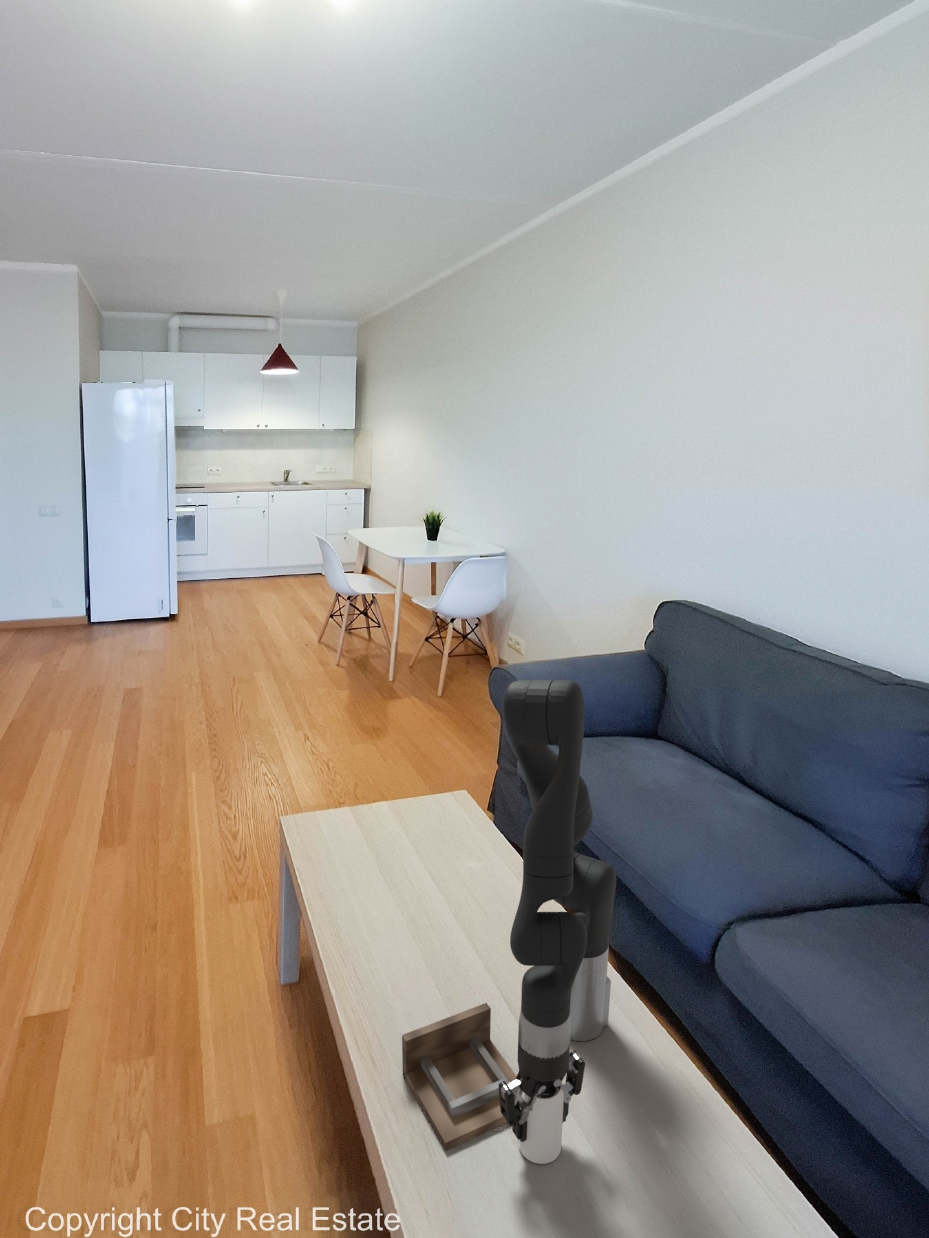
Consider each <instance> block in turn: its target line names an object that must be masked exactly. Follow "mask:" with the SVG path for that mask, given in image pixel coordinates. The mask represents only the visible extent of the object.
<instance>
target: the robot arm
mask: <svg viewBox="0 0 929 1238" xmlns="http://www.w3.org/2000/svg"><path fill="white" fill-rule="evenodd" d="M585 709H586V708H585V700H584V693H583V690H582V688H581V686H580V685H579V684H578V682H577V681H575V680H570V679H520V680H515V681H513V682H511V683H509V684H508V686H507V687H506V688H505V691H504V693H503V699H502V715H503V722H504V726H505V728H506V729H505V730H506V734H507V736H508V739H509V742H510V743H511V747H512V749H513V752H514V754H515V756H516V759H517V761H518V764H519V766H520V768H521V772H522V774H523V778H524V781H525V784H526V788H527V793H528V797H529V801H530V806H531V810H532V812H531V814H530V816H529V818H528V820H527V823H526V826H525V829H524V832H523V841H522V843H523V844H522V847H523V848H522V854H523V855H522V858H523V859H522V860H523V861H522V887H521V893H520V899H519V901H518V906H517V910H516V913H515V916H514V919H513V923H512V927H511V931H510V940H509V946H510V950H511V953H512V955H513V957H514V958H515V960H516V961H517V962H518V963H519V964H520V965H523V966H527V967H529V966H530V968H528V969H527V970H526V971H525V972H524V974H523V976H522V981H521V997H520V998H521V1001H520V1003H521V1005H520V1012H519V1017H518V1035H517V1037H518V1038H517V1040H518V1041H517V1064H518V1072H517V1074H516V1080H515V1081H513V1082H511V1083H509V1084H506V1082H505V1081H502V1082H500V1084H499V1086H498V1087H499V1100H500V1112H501V1114H502V1115H503V1116H504V1118H505V1119H506V1121H507V1122H506V1123H507V1124H508V1126H509V1127H511V1129H512V1130H511V1131H512V1132H513V1134H514V1135H515V1138H517V1140H518V1141H519V1139H520V1141H521V1142H524V1141H526V1139H527V1121H526V1120H527V1117H528V1115H529V1111H532V1110H533V1104H534V1103H535V1101H536V1097H541V1096H542V1095H543V1094H544V1092H545V1090H547V1089H549V1088H552V1087H555V1088H556V1089H558V1088H560V1086H561V1089H562V1091H563V1092H564V1102H563V1123H565V1122H566V1121H567V1117H568V1115H569V1109H570V1102H571V1101H572V1096H574V1095H575V1096H579V1095H580V1094H581V1092H582V1087H583V1081H584V1074H585V1067H586V1062H585V1060H584V1059H583V1058H582V1057H581V1055H580V1054H579V1052H577V1051H576V1050H570V1049H571V1040H573V1041H575V1042H576V1041H577V1042H587V1041H592V1040H594V1039H596V1038H597V1037H599V1036H600V1035H601V1033H602V1031H603V1029H604V1028H605V1027H607V1026H608V1025H609V1018H610V1017H609V1015H610V1014H609V1013H610V1004H611V1003H610V1000H611V987H612V986H611V985H612V980H611V978H609V976H608V965H609V964H608V962H609V950H610V949H609V947H610V936H611V930H612V922H613V913H614V903H615V897H616V888H617V873H616V869H615V867H614V866H613V864H611V863H609V862H606V861H603V860H599V859H597V858H594V857H591V856H587V855H584V854H581V853H578V852H576V851H575V850H574V847H576V846H577V845H578V844H579V843H580V842H581V841H582V840H583V839H584V837H585V836H586V835H587V834H588V832H589V831H590V828H591V826H592V823H593V815H594V814H593V809H592V803H591V797H590V793H589V788H588V786H587V784H586V782H585V780H584V779H583V777H582V776H581V775H580V774H581V773H580V772H581V763H582V762H581V760H582V751H583V744H584V743H583V742H584V734H585V722H586V721H585V715H586V714H585V711H586V710H585ZM550 746H557V748H558V754H557V753H556V752H555V751H554V750H553V749H551V748H550ZM552 900H553V901H554V902H555V903H557V904H559V905H561V906H563V907H565V908H568V909H571V910H573V911H575V912H572V911H571V912H570V911H539V909H540V908H541V906H542V905H543V904H545V903H547V902H549V901H552ZM564 1078H565V1083H564V1084H563V1080H564ZM521 1091H523V1092H524V1093H525V1094H526V1095H527V1096H528V1097H531V1098H530V1100H529V1102H528V1103H527V1102H526V1101H525V1100H524V1099H523V1097H522V1095H521ZM521 1104H522V1106H523V1109H522V1111H521V1109H520V1107H521Z"/></svg>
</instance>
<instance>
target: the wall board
mask: <svg viewBox="0 0 929 1238" xmlns="http://www.w3.org/2000/svg"><path fill="white" fill-rule="evenodd" d="M491 1012H492V1009H491V1006H490V1005H489V1004H488V1002H485V1003H482V1004H480V1005H477V1006H475V1007H472V1008H470V1009H467V1010H464V1011H461V1012H458V1013H456V1014H453V1015H451V1016H448V1017H445V1018H443V1019H440V1020H437V1021H436V1022H433V1023H430V1024H426V1025H424V1026H422V1027H420V1028H417V1029H414V1030H412V1031H409V1032H406V1033H404V1034H402V1035H401V1040H402V1041H401V1050H402V1051H401V1055H402V1059H401V1060H402V1062H401V1063H402V1076H403V1077H404V1079H405V1081H406V1083H407V1084H408V1087H409V1088H410V1091H411V1093H412V1094H413V1096H414V1097H415V1099H416V1101H417V1102H418V1104H419V1106H420V1108H421V1110H422V1112H423V1114H424V1115H425V1117H426V1119H427V1120H428V1122H429V1124H430V1126H431V1127H432V1129H433V1132H434V1133H435V1135H436V1137H437V1139H438V1140H439V1142H440V1144H441V1145H442V1147H443V1149H444V1151H445V1152H446V1151H449V1150H450V1149H453V1148H454V1147H457V1146H459V1145H461V1144H464V1143H465V1142H467V1141H470V1140H472V1139H474V1138H476V1137H479V1136H480V1135H483V1134H485V1133H487V1132H489V1131H491V1130H493V1129H496V1128H498V1127H500V1126H502V1125H504V1124H506V1123H507V1121H506V1119H505V1118H504V1116H503V1115H502V1114H501V1112H500V1100H499V1087H498V1086H499V1084H500V1082H502V1081H505V1082H506V1084H509V1083H511V1082H513V1081H515V1080H516V1076H517V1074H516V1073H515V1071H514V1070H513V1069H512V1068H511V1066H510V1065H509V1063H508V1062H507V1061H506V1059H505V1057H504V1056H503V1055H502V1053H501V1052H500V1051H499V1050H498V1048H497V1047H496V1046H495V1043H493V1042H492V1040H491V1021H492V1020H491V1017H492V1016H491Z"/></svg>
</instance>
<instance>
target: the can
mask: <svg viewBox="0 0 929 1238" xmlns="http://www.w3.org/2000/svg"><path fill="white" fill-rule="evenodd" d="M521 1095H522V1097H523V1099H524V1100H525V1101H526V1102H527V1103H528V1102H529V1100H530V1098H531V1097H528V1096H527V1095H526V1094H525V1093H524V1092H523V1091H521ZM563 1102H564V1092H563V1091H562V1089H561V1086H560V1088H558V1089H556V1088H555V1087H552V1088H549V1089H547V1090H545V1092H544V1094H543V1095H542V1096H541V1097H536V1101H535V1103H534V1104H533V1110H532V1111H529V1115H528V1117H527V1120H526V1121H527V1139H526V1141H524V1142H521V1141H520V1139H519V1140H518V1148H519V1151H520V1153H521V1154H522V1156H523V1157H524V1158H525V1159H527V1161H530V1162H531V1163H533V1164H537V1165H546V1164H550V1163H552V1162H553V1161H555V1160H556V1159H557V1158H558V1157H559V1155H560V1153H561V1150H562V1140H563V1139H562V1137H563V1123H564V1122H563ZM520 1109H521V1111H522V1109H523V1106H522V1104H521V1107H520Z"/></svg>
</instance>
